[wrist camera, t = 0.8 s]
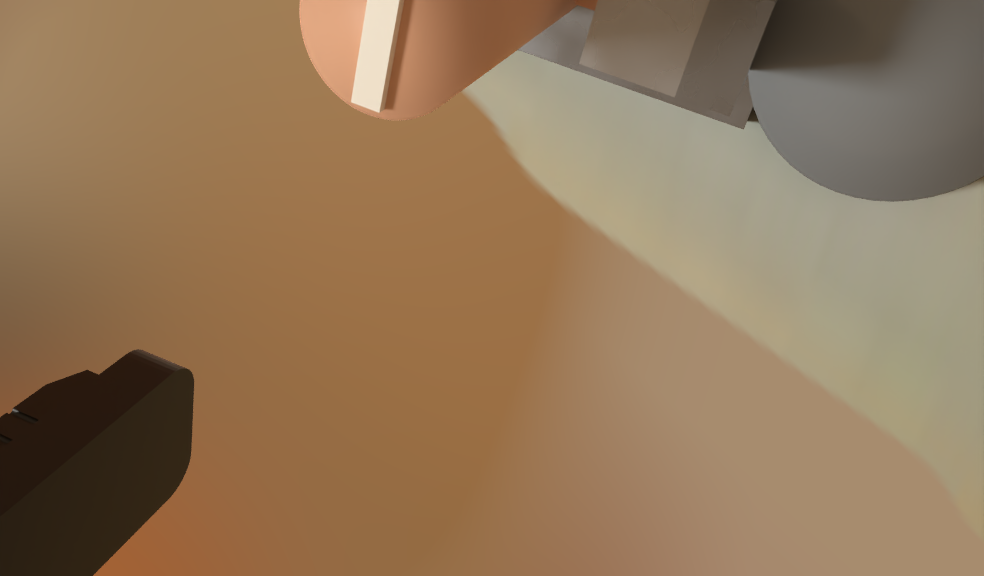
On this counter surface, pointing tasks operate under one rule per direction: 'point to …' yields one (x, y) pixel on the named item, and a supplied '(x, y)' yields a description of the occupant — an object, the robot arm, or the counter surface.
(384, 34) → the knob
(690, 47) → the keeper post
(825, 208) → the counter surface
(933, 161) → the coaster
